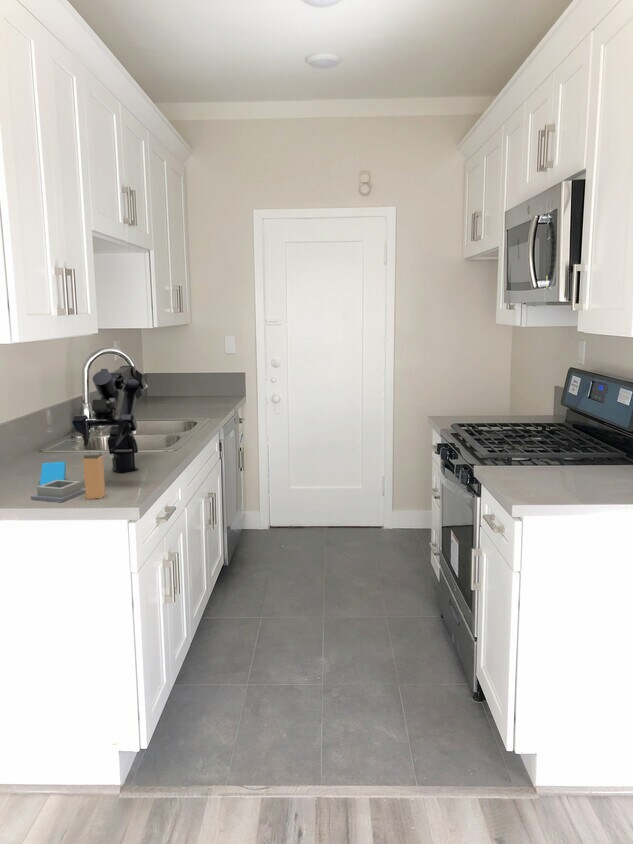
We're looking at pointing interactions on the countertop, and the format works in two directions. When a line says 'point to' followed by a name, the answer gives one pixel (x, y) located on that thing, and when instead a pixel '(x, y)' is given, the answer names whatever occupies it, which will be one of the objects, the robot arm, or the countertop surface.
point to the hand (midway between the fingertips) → (100, 445)
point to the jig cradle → (58, 490)
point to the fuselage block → (94, 475)
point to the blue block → (52, 472)
